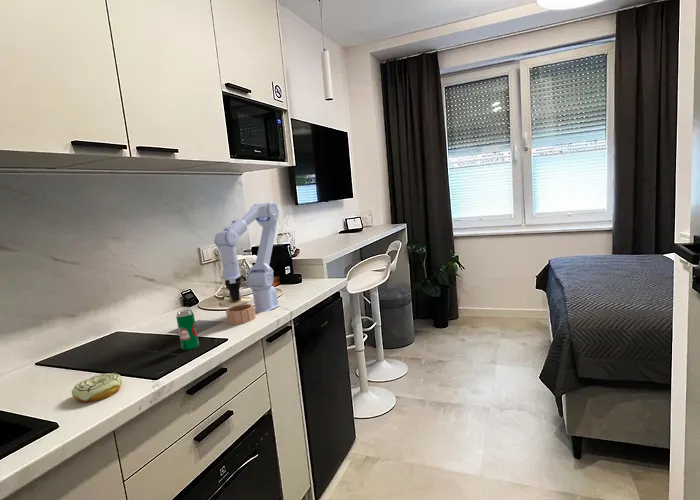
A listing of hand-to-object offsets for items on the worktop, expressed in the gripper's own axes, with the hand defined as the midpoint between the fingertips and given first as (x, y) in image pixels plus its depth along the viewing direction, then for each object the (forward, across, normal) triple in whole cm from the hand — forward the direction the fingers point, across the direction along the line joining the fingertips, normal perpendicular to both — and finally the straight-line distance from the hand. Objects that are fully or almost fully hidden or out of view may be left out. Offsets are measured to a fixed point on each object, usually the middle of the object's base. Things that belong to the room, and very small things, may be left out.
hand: (236, 299), depth 148 cm
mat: (+8, -2, -15) cm, 18 cm away
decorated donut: (+9, +42, -35) cm, 55 cm away
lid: (+1, 0, 0) cm, 1 cm away
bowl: (+9, 0, +1) cm, 9 cm away
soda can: (+9, +21, -15) cm, 27 cm away
